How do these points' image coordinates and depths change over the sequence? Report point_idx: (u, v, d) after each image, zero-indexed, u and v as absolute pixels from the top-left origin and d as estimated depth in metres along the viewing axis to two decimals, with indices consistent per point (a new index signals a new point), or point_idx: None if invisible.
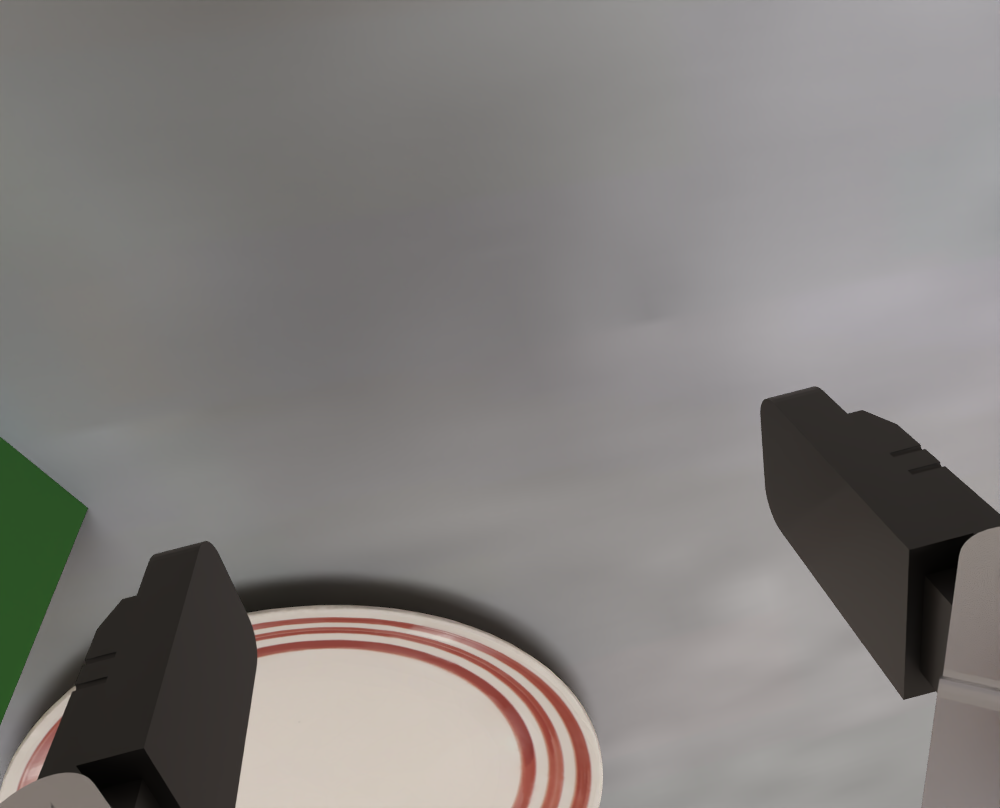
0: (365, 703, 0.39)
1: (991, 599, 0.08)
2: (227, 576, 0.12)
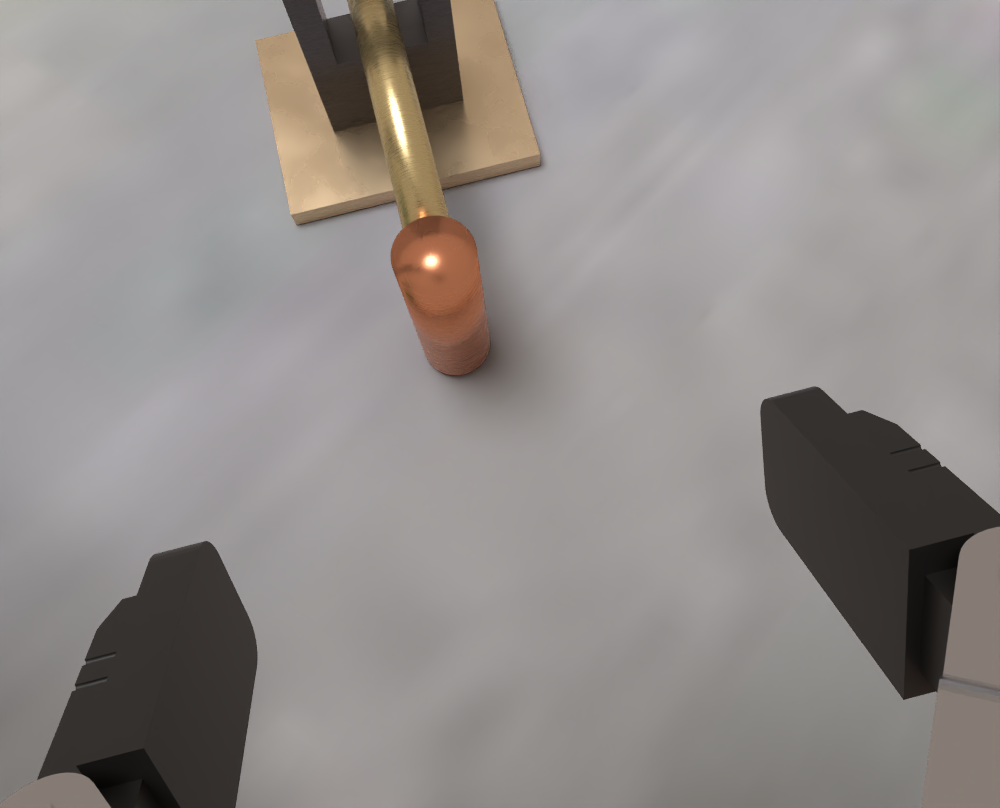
0: None
1: (991, 599, 0.08)
2: (227, 576, 0.12)
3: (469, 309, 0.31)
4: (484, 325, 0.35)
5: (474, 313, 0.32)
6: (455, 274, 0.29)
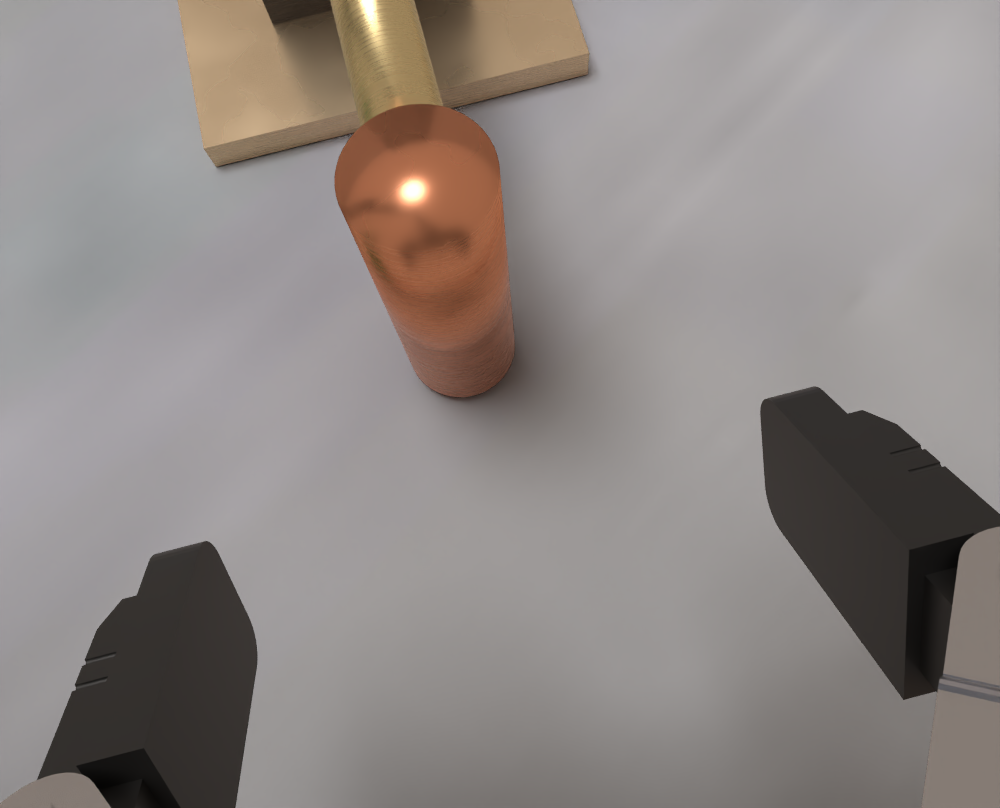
0: None
1: (991, 599, 0.08)
2: (227, 576, 0.12)
3: (484, 283, 0.17)
4: (508, 315, 0.21)
5: (493, 292, 0.18)
6: (458, 212, 0.15)
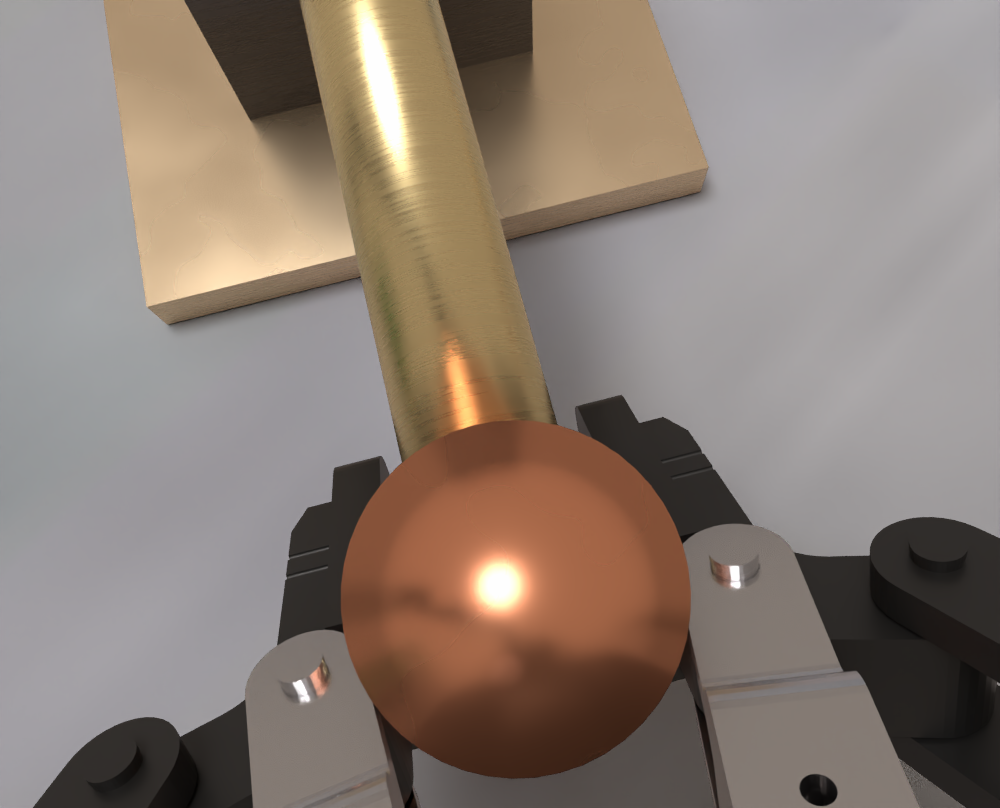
0: None
1: (714, 601, 0.08)
2: None
3: None
4: None
5: None
6: (607, 681, 0.07)
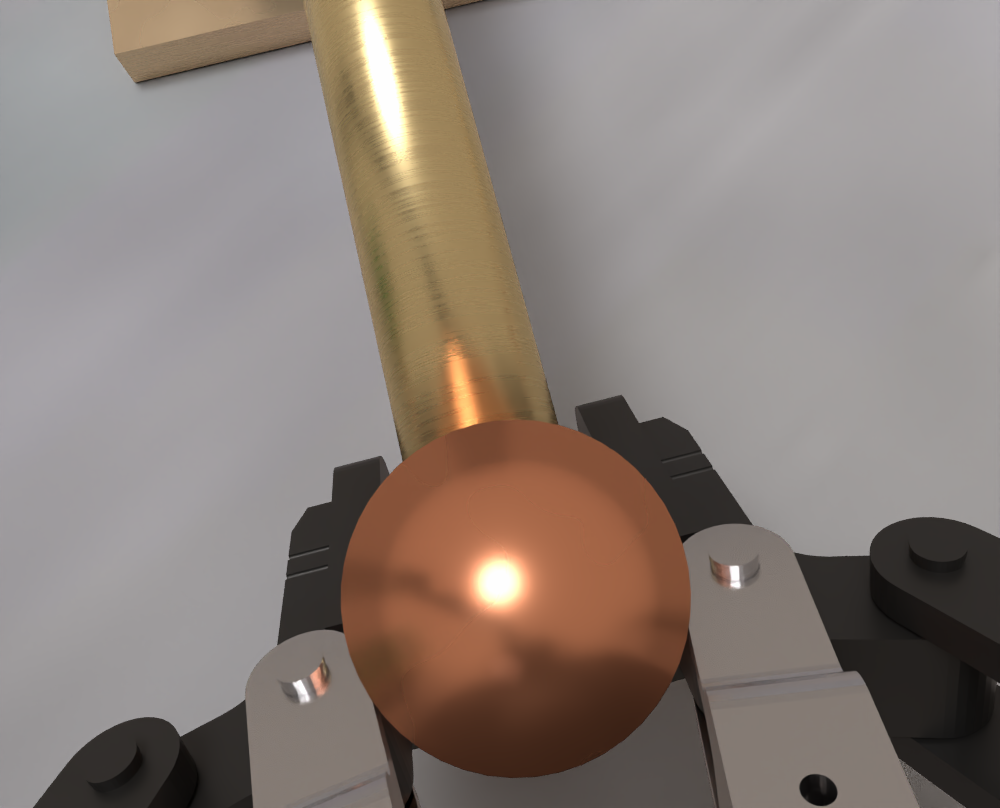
0: None
1: (714, 600, 0.08)
2: None
3: None
4: None
5: None
6: (607, 682, 0.07)
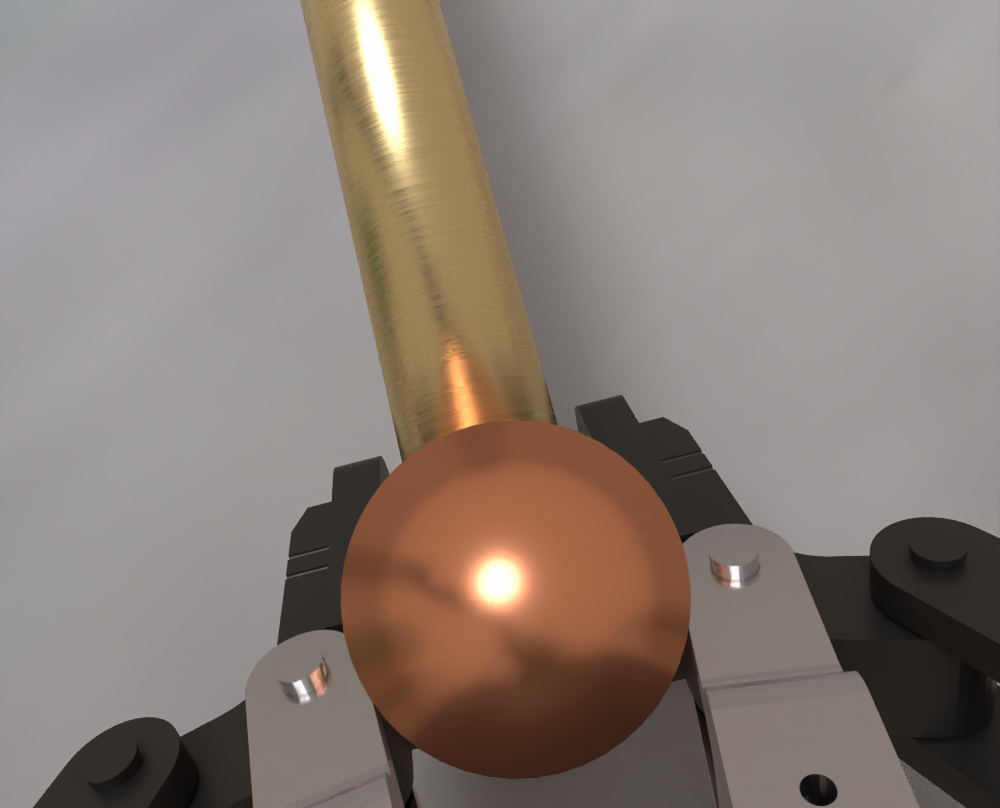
0: None
1: (714, 600, 0.08)
2: None
3: None
4: None
5: None
6: (607, 681, 0.07)
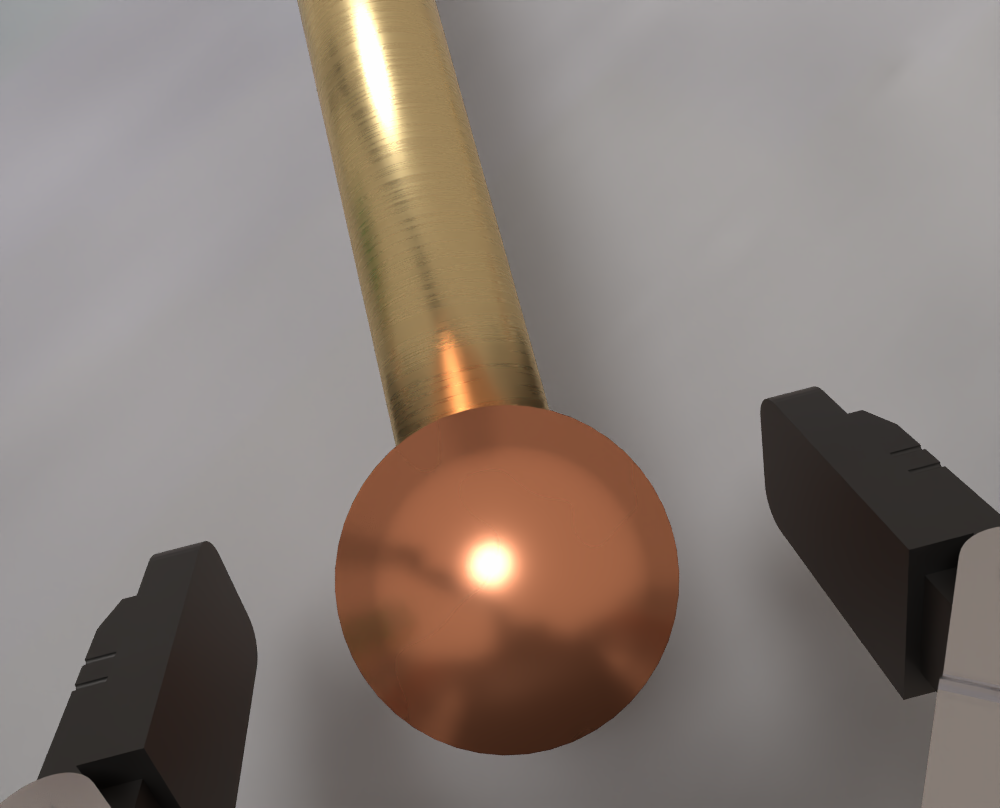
0: None
1: (991, 599, 0.08)
2: (227, 576, 0.12)
3: None
4: None
5: None
6: (597, 661, 0.07)
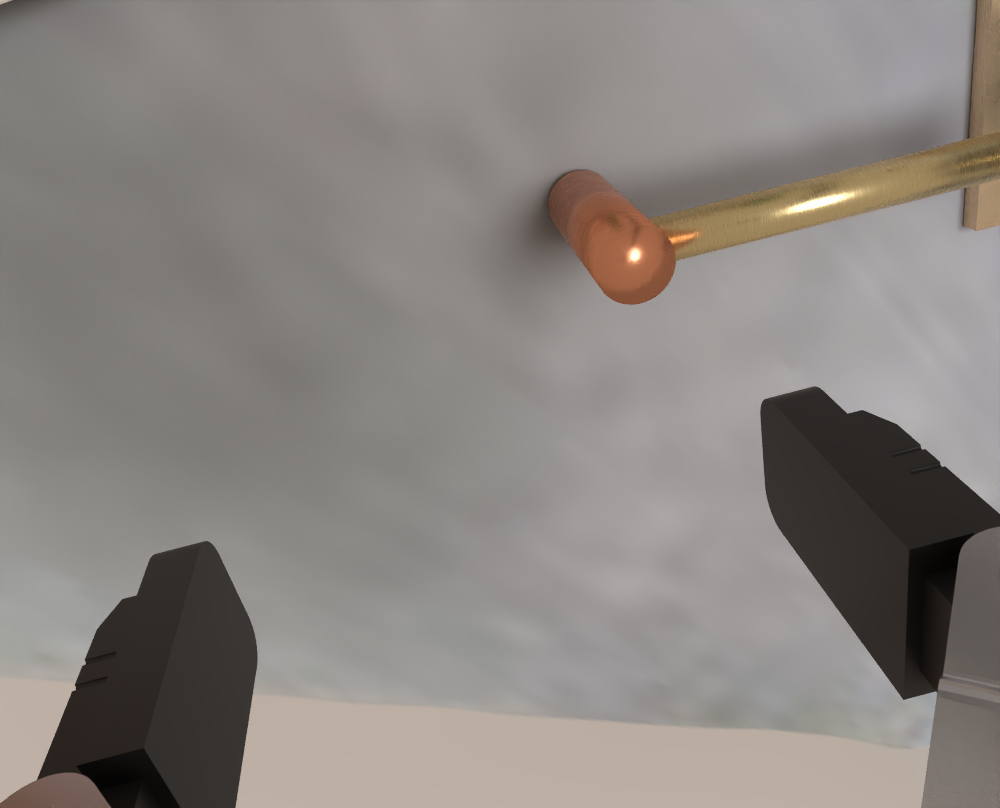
0: None
1: (991, 599, 0.08)
2: (227, 576, 0.12)
3: None
4: None
5: None
6: (613, 286, 0.31)
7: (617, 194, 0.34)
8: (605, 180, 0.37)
